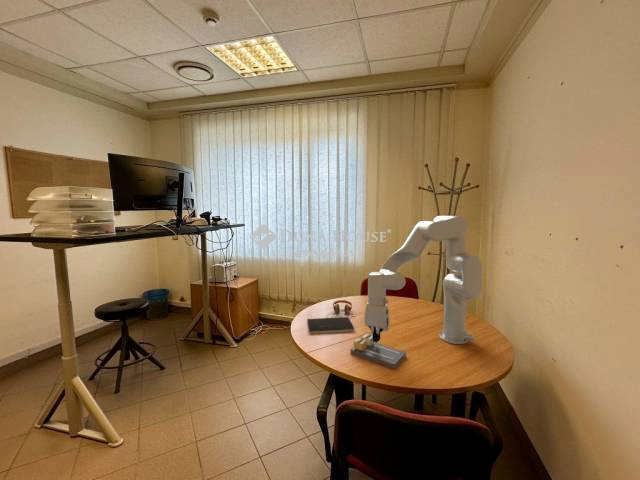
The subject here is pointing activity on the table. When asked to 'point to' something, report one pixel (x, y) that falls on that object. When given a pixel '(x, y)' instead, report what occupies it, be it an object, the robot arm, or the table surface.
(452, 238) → the robot arm
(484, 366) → the table surface
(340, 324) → the hardcover book
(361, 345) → the amber fader
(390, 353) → the mixer console
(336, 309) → the headphones
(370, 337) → the white fader
